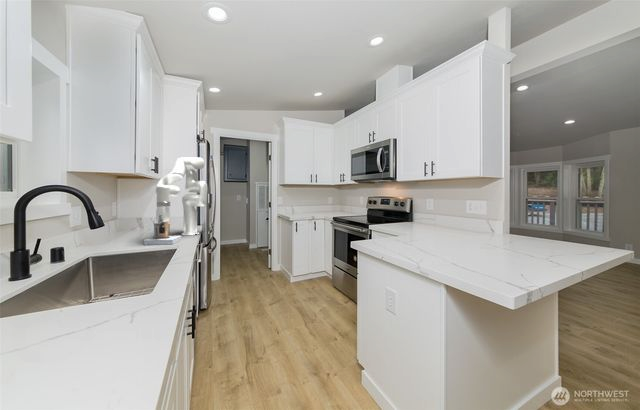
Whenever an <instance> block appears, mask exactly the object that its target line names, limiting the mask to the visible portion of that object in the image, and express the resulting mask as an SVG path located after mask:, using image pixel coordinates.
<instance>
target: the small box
mask: <svg viewBox="0 0 640 410" xmlns="http://www.w3.org/2000/svg"><path fill="white" fill-rule="evenodd" d="M170 228H171V227H170V223H169V231H170ZM154 236H158V222H155V223H153V237H154Z"/></svg>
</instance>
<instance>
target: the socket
mask: <svg viewBox="0 0 640 410" xmlns="http://www.w3.org/2000/svg"><path fill="white" fill-rule="evenodd" d="M180 240H181V241H182V235H169V237H168V238H158V236H154V235H153V236H152V237H149V238H147V239H144V240H143V245H144V246H160V245H161V246H163V245H164V246H165V245H166V246H167V245H169V246H170V245H175V244H176V243H178V242H180Z"/></svg>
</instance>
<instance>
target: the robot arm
mask: <svg viewBox="0 0 640 410" xmlns="http://www.w3.org/2000/svg"><path fill="white" fill-rule="evenodd" d="M204 167H205V160H204V159H203V158H202V157H190V156H189V157H178V158H177V159H176V160H175V163H174V165H173V166H172V169H171V171H170V172H169V173H168V174H166V175H165V176H163V177H162V178H161V179H160V180H159V181H158V183H157V185H156V187H155V194H156V212H155V223H158V225H159V234H162V233H165V227H164V223H165V222H170V221H171V213H170V212H171V211H170V208H171V198H176V197H179V196H180V194H181V189H180V187H179V186H177V185H170V184H173V183H175V182H178V181H181V180H183V179H184V177H185V186H184V187H185V191H186V192H188V193H187V194H184V195H183V196H182V197H181V202H182V207H183V208H182V209H183V232H181V235H180V236H195V234H197V235H199V234H200V232H199V231H198V210H197V208H196V207H205V206H206V205H207V200H208V184H207V182H206V181H204V180H199V174H198V173H197V170H201V169H203V168H204ZM162 223H163V224H162Z"/></svg>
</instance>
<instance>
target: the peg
mask: <svg viewBox="0 0 640 410" xmlns="http://www.w3.org/2000/svg"><path fill="white" fill-rule="evenodd" d="M169 222H170V221H169ZM169 222H165V223H164V227H165V233H162V234H159V225H158V238H168V237H169V236H170V230H169V224H170V223H169ZM162 224H163V223H162Z"/></svg>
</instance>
